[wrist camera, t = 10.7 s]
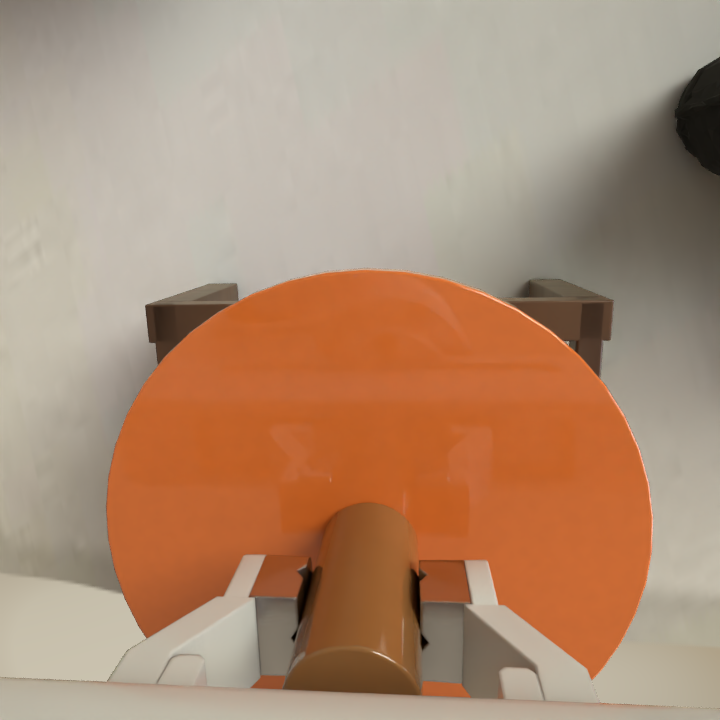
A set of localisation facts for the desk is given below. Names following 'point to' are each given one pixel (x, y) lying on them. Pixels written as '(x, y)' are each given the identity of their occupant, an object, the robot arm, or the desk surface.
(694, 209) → the desk surface
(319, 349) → the lid
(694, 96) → the film camera
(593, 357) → the rack
